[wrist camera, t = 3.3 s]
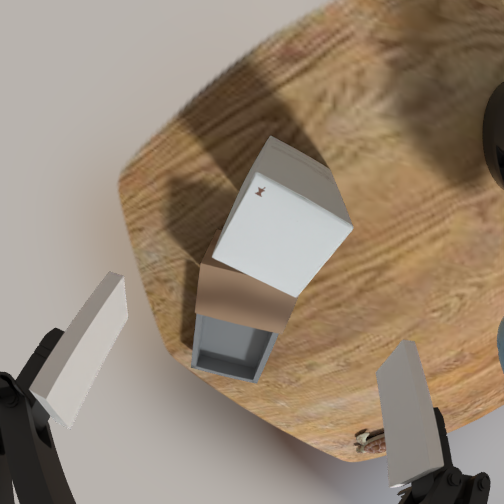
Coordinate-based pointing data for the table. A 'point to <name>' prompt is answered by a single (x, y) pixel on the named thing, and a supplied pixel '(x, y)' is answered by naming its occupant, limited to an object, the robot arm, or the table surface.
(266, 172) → the supplement box
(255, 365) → the tray
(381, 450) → the decorative turtle
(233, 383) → the table surface
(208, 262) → the brown block
